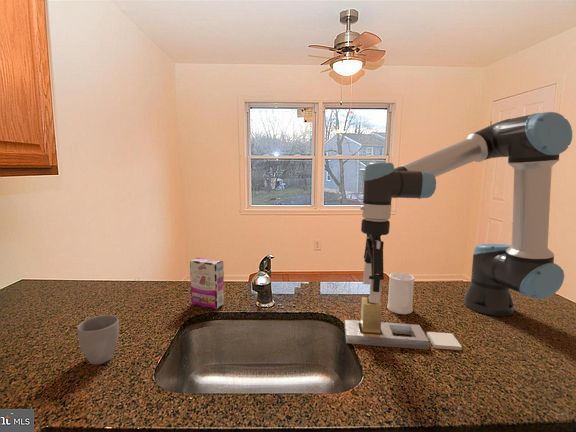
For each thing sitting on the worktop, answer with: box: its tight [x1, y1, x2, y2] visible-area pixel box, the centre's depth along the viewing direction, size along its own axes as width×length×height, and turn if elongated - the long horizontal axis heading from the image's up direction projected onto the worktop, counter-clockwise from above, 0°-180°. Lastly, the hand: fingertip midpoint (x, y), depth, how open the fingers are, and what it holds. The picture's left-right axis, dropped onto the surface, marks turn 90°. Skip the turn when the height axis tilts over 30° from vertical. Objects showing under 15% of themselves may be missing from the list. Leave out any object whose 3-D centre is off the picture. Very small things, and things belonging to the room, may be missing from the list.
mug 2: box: [386, 272, 415, 315], centre depth 106 cm, size 12×8×12 cm
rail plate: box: [344, 319, 430, 350], centre depth 89 cm, size 22×9×2 cm, turn 83°
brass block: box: [360, 296, 383, 335], centre depth 89 cm, size 5×5×12 cm
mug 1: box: [76, 314, 120, 365], centre depth 79 cm, size 12×9×10 cm
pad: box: [426, 331, 463, 351], centre depth 87 cm, size 7×7×1 cm
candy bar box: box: [189, 257, 225, 310], centre depth 109 cm, size 11×5×16 cm, turn 68°
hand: (370, 292), depth 88 cm, fingers open, 13 cm apart
